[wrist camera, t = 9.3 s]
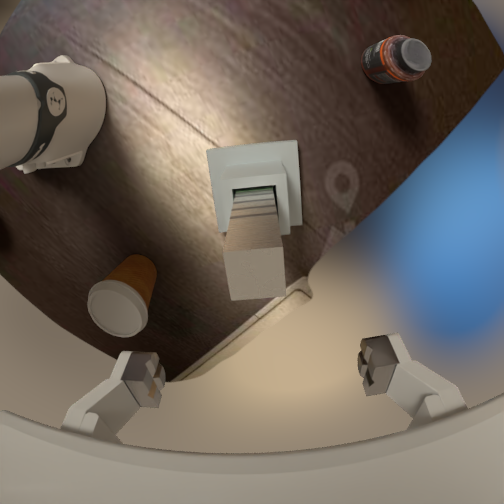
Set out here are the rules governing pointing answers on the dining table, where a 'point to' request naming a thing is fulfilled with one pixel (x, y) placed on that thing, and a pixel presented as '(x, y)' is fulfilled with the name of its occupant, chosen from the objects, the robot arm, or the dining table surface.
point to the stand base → (257, 178)
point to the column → (254, 246)
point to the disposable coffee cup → (124, 297)
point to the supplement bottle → (396, 60)
